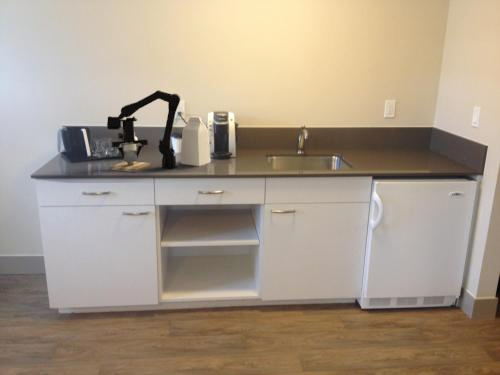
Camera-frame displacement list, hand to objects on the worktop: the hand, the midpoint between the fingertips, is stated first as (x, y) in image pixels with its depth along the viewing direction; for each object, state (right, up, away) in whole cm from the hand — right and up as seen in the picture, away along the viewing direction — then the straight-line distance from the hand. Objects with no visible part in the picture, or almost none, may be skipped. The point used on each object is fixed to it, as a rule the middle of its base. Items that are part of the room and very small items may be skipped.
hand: (130, 158), depth 243 cm
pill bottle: (-6, +2, +25) cm, 26 cm away
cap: (0, -1, 0) cm, 1 cm away
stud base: (0, -5, +1) cm, 5 cm away
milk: (+34, -2, +15) cm, 37 cm away
